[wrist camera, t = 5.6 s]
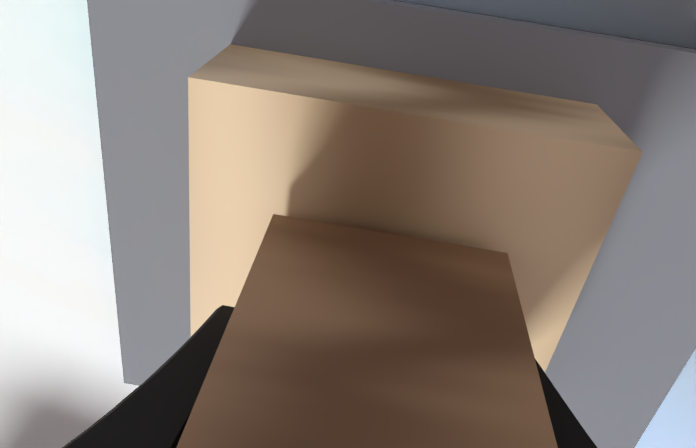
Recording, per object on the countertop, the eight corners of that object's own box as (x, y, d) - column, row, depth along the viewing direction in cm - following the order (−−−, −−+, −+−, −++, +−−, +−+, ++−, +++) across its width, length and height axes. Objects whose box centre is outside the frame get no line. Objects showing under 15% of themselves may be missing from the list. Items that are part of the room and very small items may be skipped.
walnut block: (507, 252, 12) (582, 543, 7) (451, 408, 14) (473, 699, 9) (273, 213, 12) (166, 471, 7) (261, 376, 14) (179, 647, 9)
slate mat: (843, 73, 13) (861, 80, 12) (616, 453, 20) (621, 468, 20) (95, -49, 13) (82, -47, 13) (131, 370, 20) (124, 382, 20)
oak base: (596, 104, 13) (642, 152, 11) (495, 371, 18) (510, 450, 15) (230, 44, 13) (188, 77, 11) (222, 324, 18) (190, 395, 15)
